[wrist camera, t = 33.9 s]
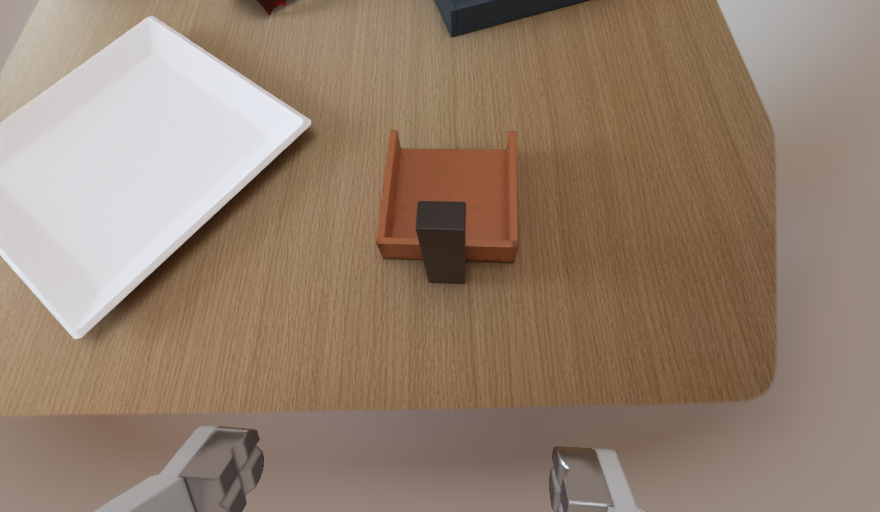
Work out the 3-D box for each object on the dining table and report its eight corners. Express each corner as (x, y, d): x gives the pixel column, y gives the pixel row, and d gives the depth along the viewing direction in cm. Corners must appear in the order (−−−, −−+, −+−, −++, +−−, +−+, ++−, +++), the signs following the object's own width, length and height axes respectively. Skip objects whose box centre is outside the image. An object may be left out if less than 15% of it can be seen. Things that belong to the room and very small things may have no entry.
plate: (319, 134, 40) (312, 120, 38) (96, 346, 33) (73, 341, 31) (162, 29, 47) (149, 12, 45) (-49, 184, 40) (-75, 172, 38)
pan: (514, 285, 33) (533, 232, 24) (380, 281, 34) (349, 227, 25) (512, 153, 38) (527, 66, 29) (396, 152, 39) (374, 67, 30)
